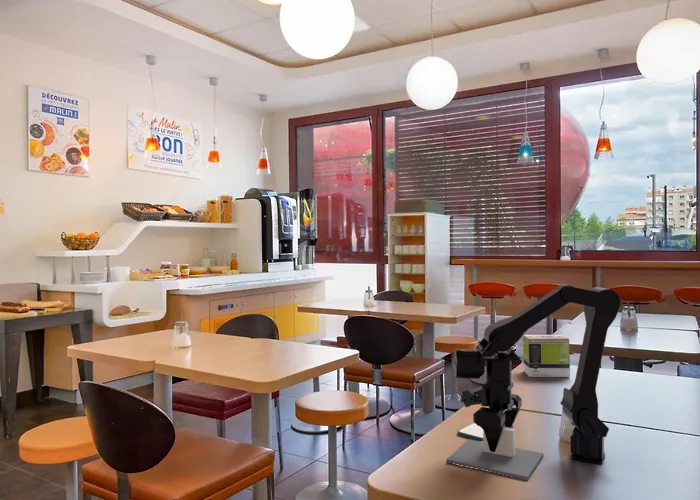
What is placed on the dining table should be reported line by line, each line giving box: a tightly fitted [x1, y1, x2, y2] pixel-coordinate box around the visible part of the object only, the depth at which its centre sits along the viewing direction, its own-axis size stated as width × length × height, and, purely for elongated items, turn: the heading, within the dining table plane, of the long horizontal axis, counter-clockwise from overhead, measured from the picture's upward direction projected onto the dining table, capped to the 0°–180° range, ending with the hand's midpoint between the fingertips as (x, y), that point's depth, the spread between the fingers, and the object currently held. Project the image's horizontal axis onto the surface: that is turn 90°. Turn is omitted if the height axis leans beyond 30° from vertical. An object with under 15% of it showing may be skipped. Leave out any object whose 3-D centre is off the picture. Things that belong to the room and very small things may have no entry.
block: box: [483, 427, 517, 457], centre depth 127 cm, size 7×2×6 cm, turn 58°
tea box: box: [522, 334, 571, 378], centre depth 207 cm, size 15×10×15 cm, turn 84°
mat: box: [445, 438, 544, 481], centre depth 125 cm, size 18×15×1 cm
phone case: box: [456, 422, 514, 441], centre depth 145 cm, size 9×2×16 cm
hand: (498, 445), depth 127 cm, fingers open, 9 cm apart
